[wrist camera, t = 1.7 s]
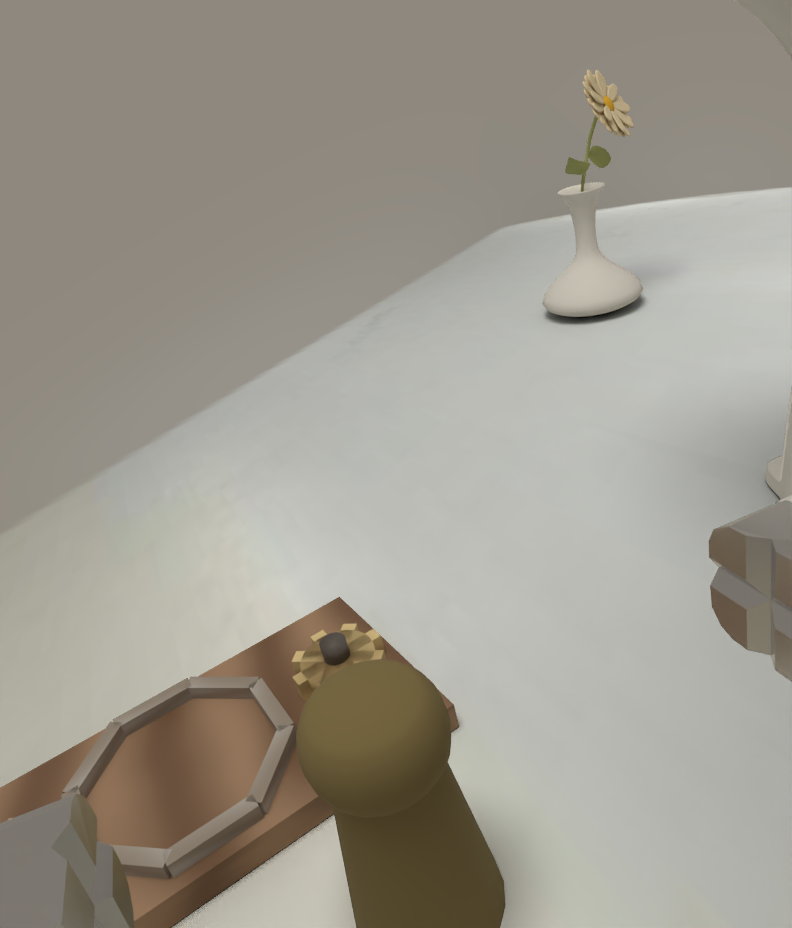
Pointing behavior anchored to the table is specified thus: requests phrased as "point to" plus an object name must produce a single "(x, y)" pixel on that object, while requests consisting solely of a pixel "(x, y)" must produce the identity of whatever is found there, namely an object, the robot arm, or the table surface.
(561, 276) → the flower in vase
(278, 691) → the gear board
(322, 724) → the cork
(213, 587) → the table surface
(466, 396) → the table surface
